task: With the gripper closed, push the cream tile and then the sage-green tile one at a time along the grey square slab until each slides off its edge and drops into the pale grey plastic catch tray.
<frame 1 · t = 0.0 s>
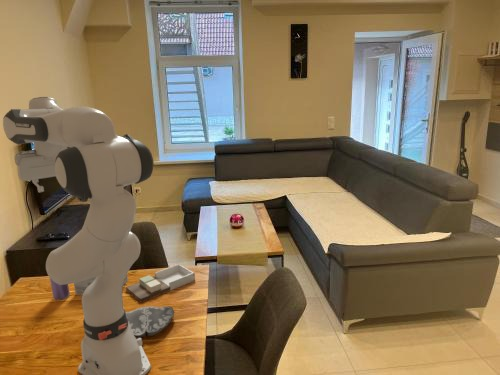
hand: (56, 189, 126), 48 cm above the table, fingers open, 8 cm apart
cream tile: (153, 288, 152), point 2 cm above the table, touching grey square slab
sage tile: (147, 283, 156), point 2 cm above the table, touching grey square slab
supplement box: (102, 287, 157), on the table
beverage can: (61, 297, 151), on the table
brain slice: (146, 327, 130), on the table
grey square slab: (148, 290, 153), on the table
grey tray: (175, 280, 161), on the table
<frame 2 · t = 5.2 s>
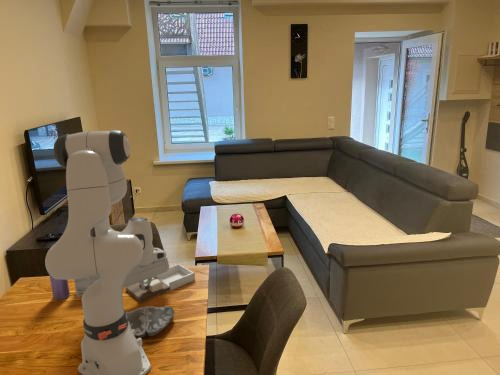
hand: (146, 288, 149), 3 cm above the table, fingers closed
cream tile: (155, 288, 152), point 2 cm above the table, touching gripper, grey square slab
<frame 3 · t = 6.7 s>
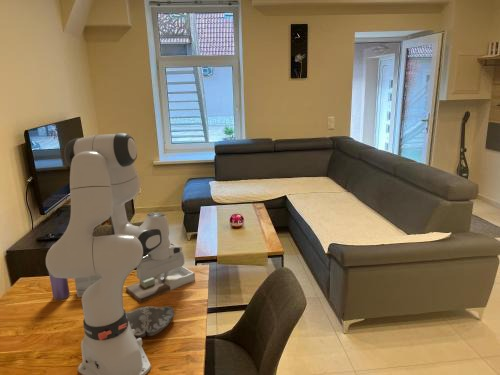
hand: (162, 282, 154), 3 cm above the table, fingers closed
cream tile: (170, 283, 157), point 1 cm above the table, tilted 16°, touching gripper
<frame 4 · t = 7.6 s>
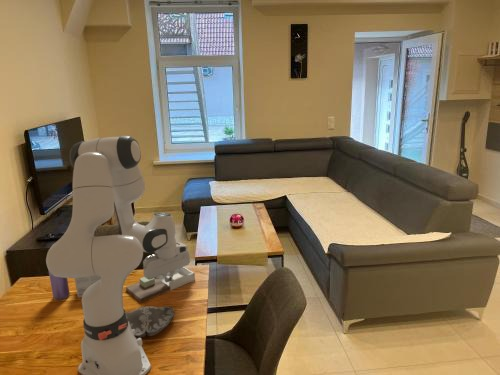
hand: (168, 281, 156), 2 cm above the table, fingers closed
cream tile: (176, 281, 159), resting on grey tray, touching gripper
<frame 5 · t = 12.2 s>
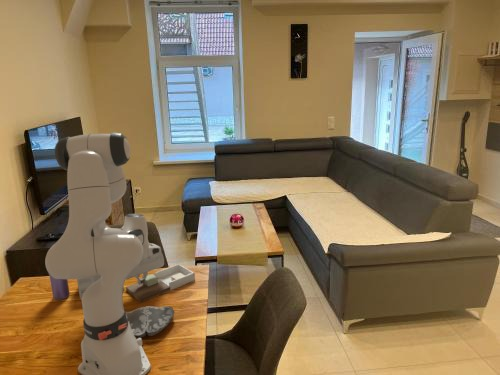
hand: (141, 282, 154), 3 cm above the table, fingers closed
cream tile: (178, 281, 159), resting on grey tray
sage tile: (150, 282, 156), point 2 cm above the table, touching gripper
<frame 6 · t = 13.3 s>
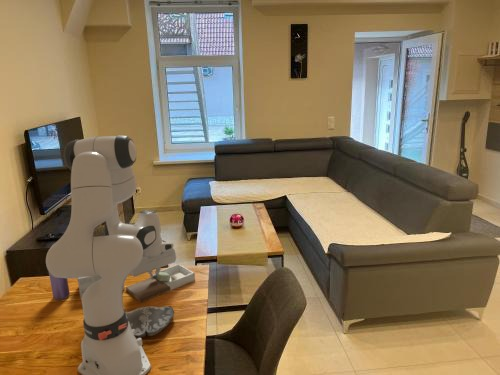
hand: (154, 278, 158), 3 cm above the table, fingers closed
sage tile: (162, 279, 160), point 1 cm above the table, tilted 19°, touching grey tray, gripper, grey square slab
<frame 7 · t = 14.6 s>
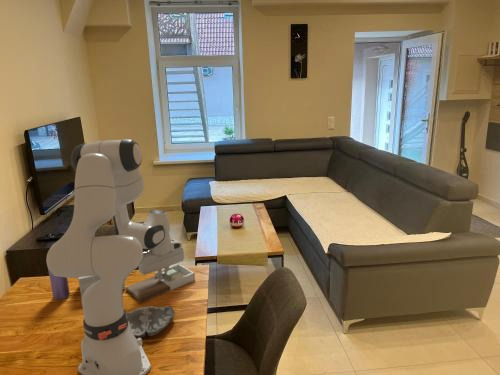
hand: (163, 276, 161), 2 cm above the table, fingers closed
sage tile: (171, 277, 163), resting on grey tray, touching gripper
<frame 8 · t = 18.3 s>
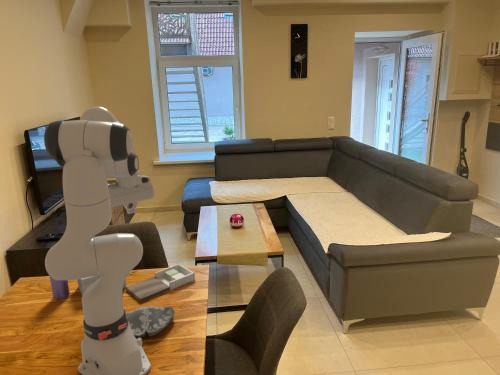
hand: (131, 213, 153), 31 cm above the table, fingers closed
sage tile: (172, 277, 163), resting on grey tray
at the end: cream tile inside the target area on the grey tray (2.7 cm from its centre), point 0.4 cm above the grey tray's base; sage tile inside the target area on the grey tray (2.7 cm from its centre), point 0.4 cm above the grey tray's base; sage tile touching grey tray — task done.
